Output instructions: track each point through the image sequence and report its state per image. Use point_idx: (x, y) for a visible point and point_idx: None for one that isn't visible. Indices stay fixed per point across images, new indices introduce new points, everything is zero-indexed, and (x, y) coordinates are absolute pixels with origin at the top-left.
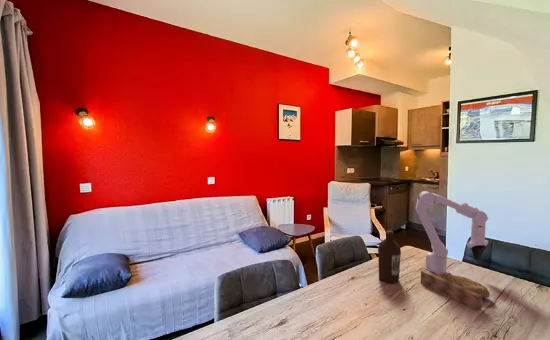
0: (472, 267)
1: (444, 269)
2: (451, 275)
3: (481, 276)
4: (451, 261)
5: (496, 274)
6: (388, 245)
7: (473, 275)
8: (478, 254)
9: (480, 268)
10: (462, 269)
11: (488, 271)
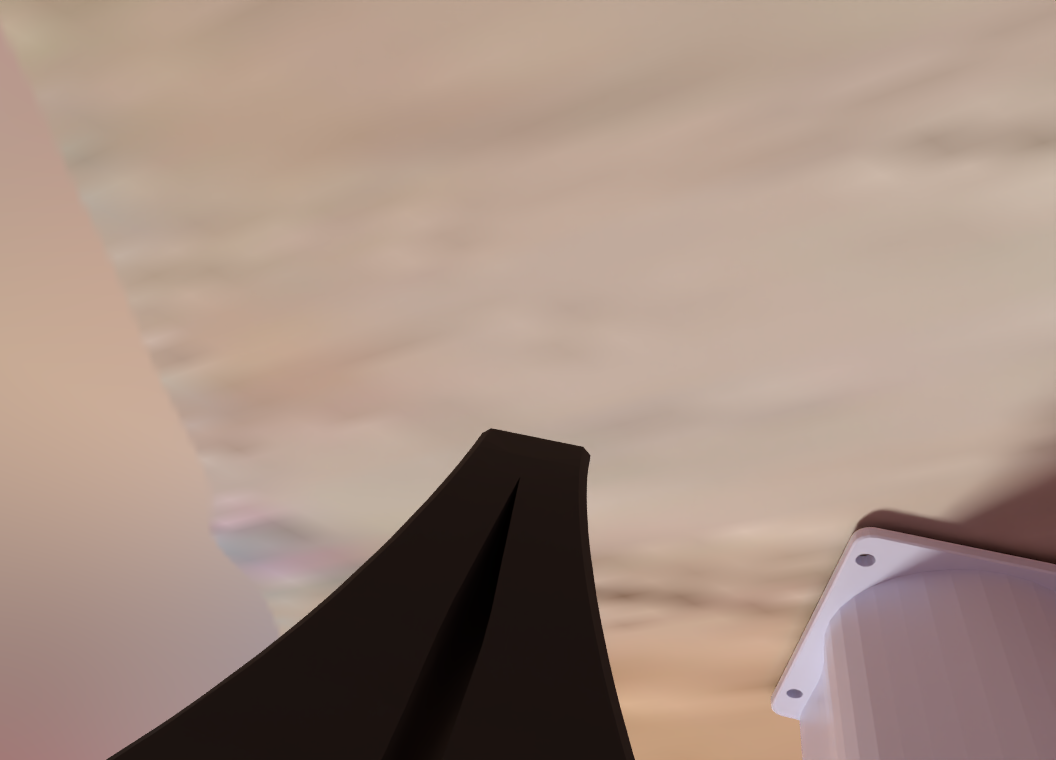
0: (252, 387)
1: (1049, 643)
2: None
3: (496, 151)
4: None
5: (92, 13)
6: None
7: (594, 262)
8: (603, 662)
9: (156, 301)
10: None
11: (127, 171)
